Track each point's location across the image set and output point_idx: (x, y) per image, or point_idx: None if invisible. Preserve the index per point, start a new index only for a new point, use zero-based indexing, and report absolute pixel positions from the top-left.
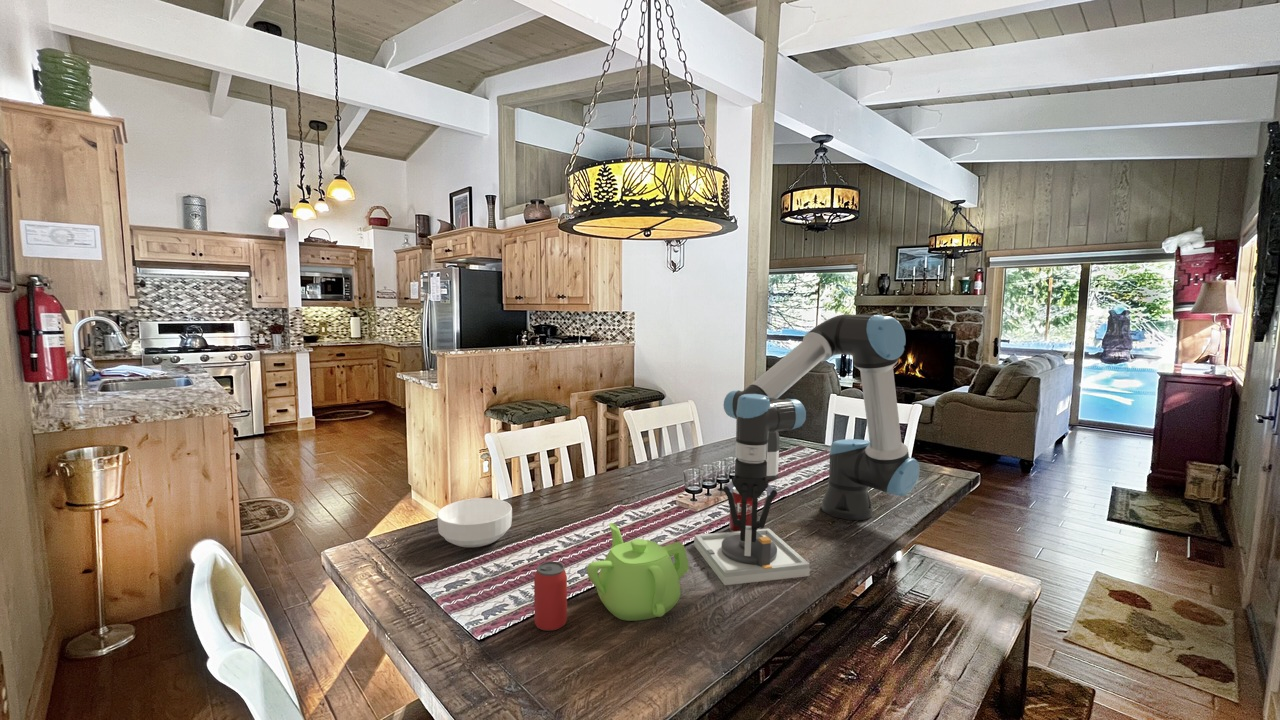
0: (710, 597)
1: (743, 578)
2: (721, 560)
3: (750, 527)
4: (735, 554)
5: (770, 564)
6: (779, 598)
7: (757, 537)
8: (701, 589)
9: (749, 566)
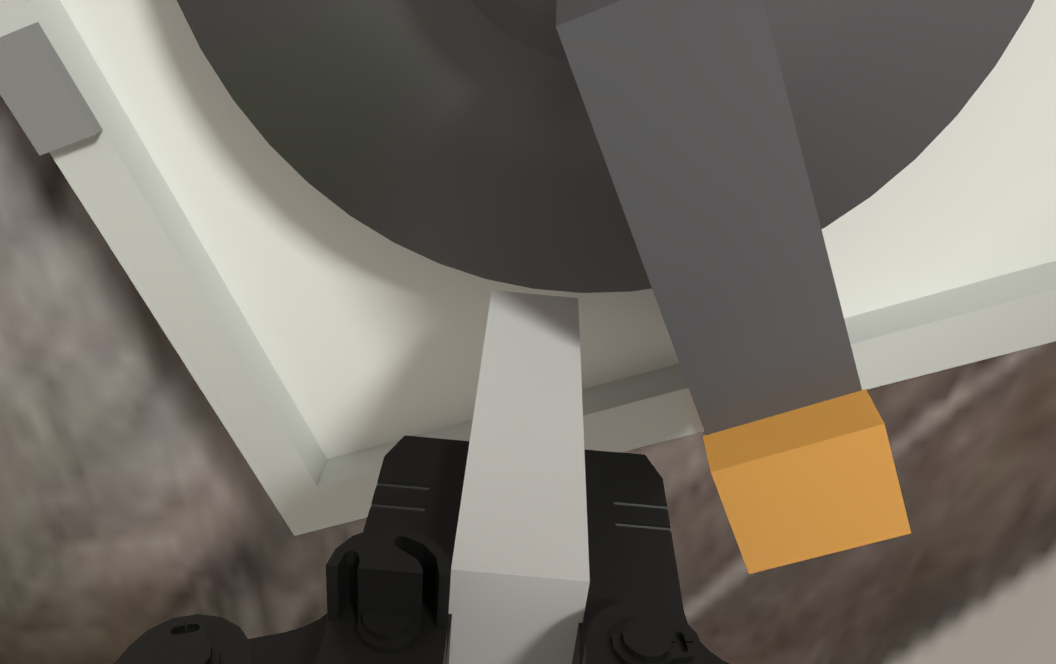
0: (234, 606)
1: None
2: (225, 176)
3: (555, 637)
4: (379, 216)
5: None
6: (755, 581)
7: (711, 323)
8: (145, 522)
9: None
